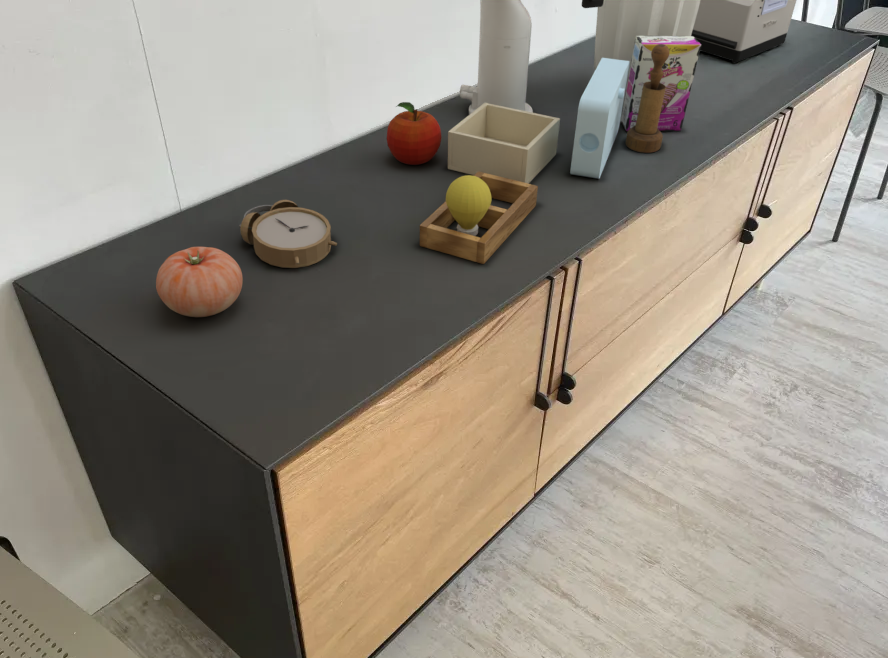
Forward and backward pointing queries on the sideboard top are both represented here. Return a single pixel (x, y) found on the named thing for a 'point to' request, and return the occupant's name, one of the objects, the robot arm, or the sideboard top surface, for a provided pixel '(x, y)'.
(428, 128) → the fruit
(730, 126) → the sideboard top surface
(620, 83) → the radio
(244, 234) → the alarm clock
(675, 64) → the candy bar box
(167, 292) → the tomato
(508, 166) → the wooden box
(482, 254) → the wooden frame
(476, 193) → the light bulb
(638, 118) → the mortar and pestle
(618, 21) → the vase
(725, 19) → the toaster
